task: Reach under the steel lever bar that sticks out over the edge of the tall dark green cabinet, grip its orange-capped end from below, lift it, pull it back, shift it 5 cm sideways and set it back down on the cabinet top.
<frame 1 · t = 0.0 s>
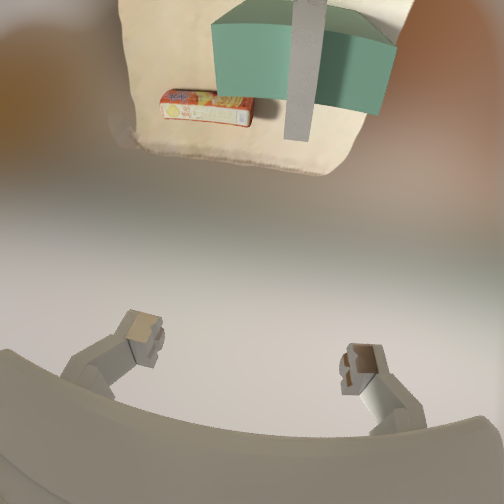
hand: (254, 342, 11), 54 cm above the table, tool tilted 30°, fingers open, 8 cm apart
cabinet: (301, 23, 37), on the table
snack package: (210, 100, 57), on the table
lever bar: (304, 50, 23), point 26 cm above the table, touching cabinet
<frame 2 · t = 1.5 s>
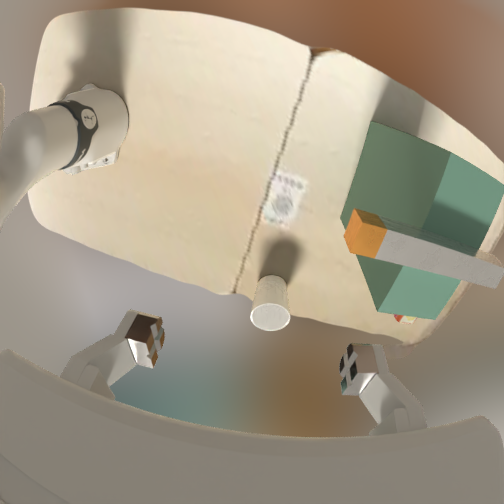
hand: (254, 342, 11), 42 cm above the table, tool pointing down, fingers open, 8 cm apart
cabinet: (379, 178, 47), on the table
white cup: (271, 285, 63), on the table
lever bar: (435, 247, 25), point 26 cm above the table, touching cabinet
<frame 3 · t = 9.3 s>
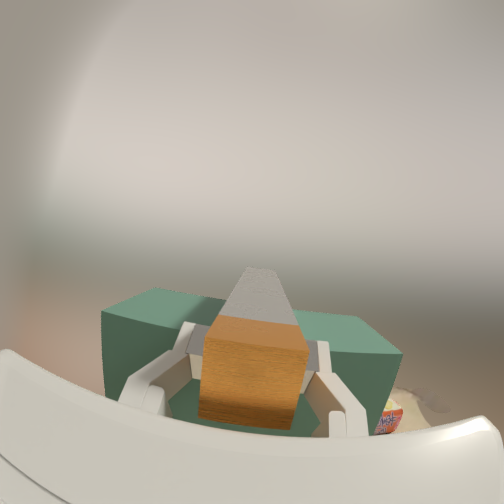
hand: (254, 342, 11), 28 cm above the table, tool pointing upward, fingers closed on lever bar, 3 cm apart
snack package: (343, 433, 40), on the table
lever bar: (254, 327, 19), point 26 cm above the table, touching cabinet, gripper
when the fingers open (29 cm above the table, at t = 16.6 s): lever bar stays where it is, resting on cabinet.
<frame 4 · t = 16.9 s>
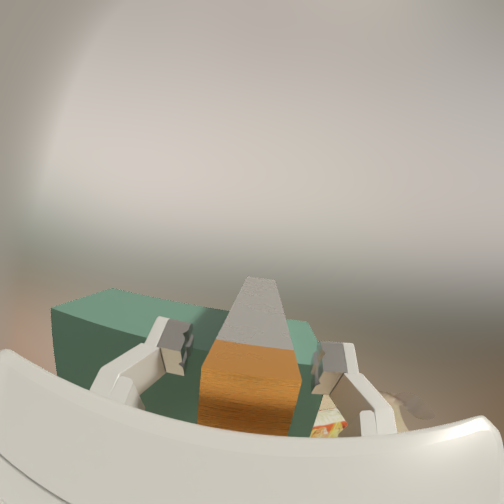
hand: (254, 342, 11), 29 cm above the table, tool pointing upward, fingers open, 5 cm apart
snack package: (319, 441, 39), on the table
lever bar: (253, 340, 19), point 26 cm above the table, touching cabinet
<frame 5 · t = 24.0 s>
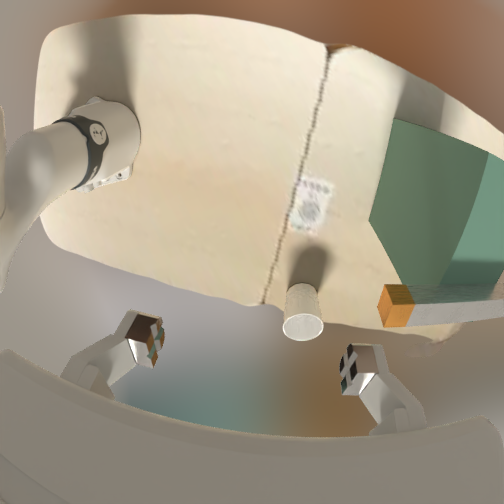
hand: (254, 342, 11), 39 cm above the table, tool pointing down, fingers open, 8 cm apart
cabinet: (405, 177, 43), on the table
white cup: (301, 294, 60), on the table
lever bar: (460, 294, 25), point 26 cm above the table, touching cabinet
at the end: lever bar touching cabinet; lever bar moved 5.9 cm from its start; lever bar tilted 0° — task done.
